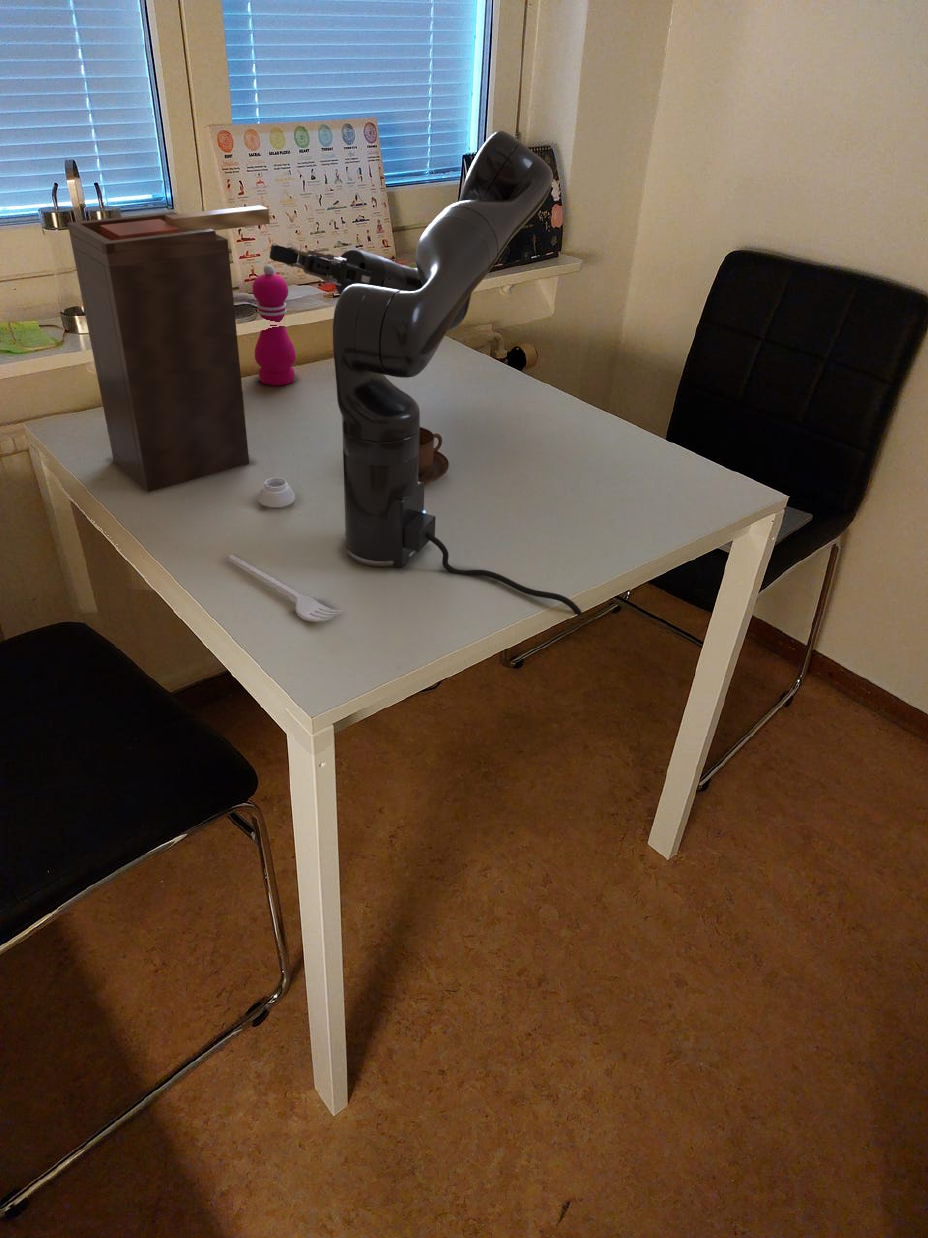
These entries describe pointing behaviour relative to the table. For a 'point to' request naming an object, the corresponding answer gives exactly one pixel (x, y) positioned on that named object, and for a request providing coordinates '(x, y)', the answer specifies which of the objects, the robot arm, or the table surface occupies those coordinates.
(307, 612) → the fork
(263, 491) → the white jar
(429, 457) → the cup and saucer
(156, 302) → the tall wooden box
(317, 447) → the table surface
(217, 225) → the spatula
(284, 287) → the pepper mill
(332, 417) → the table surface
